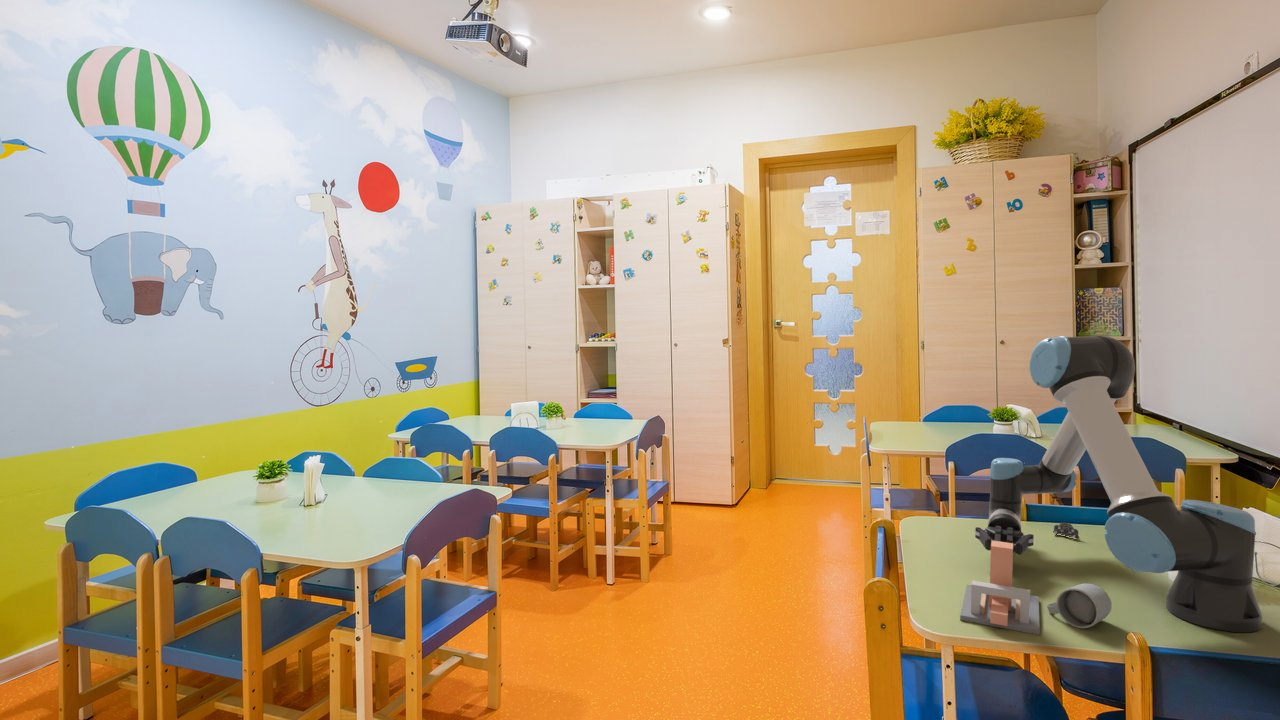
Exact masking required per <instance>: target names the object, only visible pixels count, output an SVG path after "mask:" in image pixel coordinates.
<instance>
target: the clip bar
mask: <svg viewBox="0 0 1280 720" xmlns="http://www.w3.org/2000/svg"><path fill="white" fill-rule="evenodd" d="M1013 559H1014V552H1013V543H1007V542H1000V541H992V542H991V550H990V565H989V566H990V567H989V583H991V584H997V585H1003V586H1009V587H1013V565H1014V560H1013ZM1011 604H1012V598H1006V597H1000V596H994V595H990V599H989V607H990V608H991V612H990V623H993V624H998V625H1004V626H1007V624H1008V611H1011Z"/></svg>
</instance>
